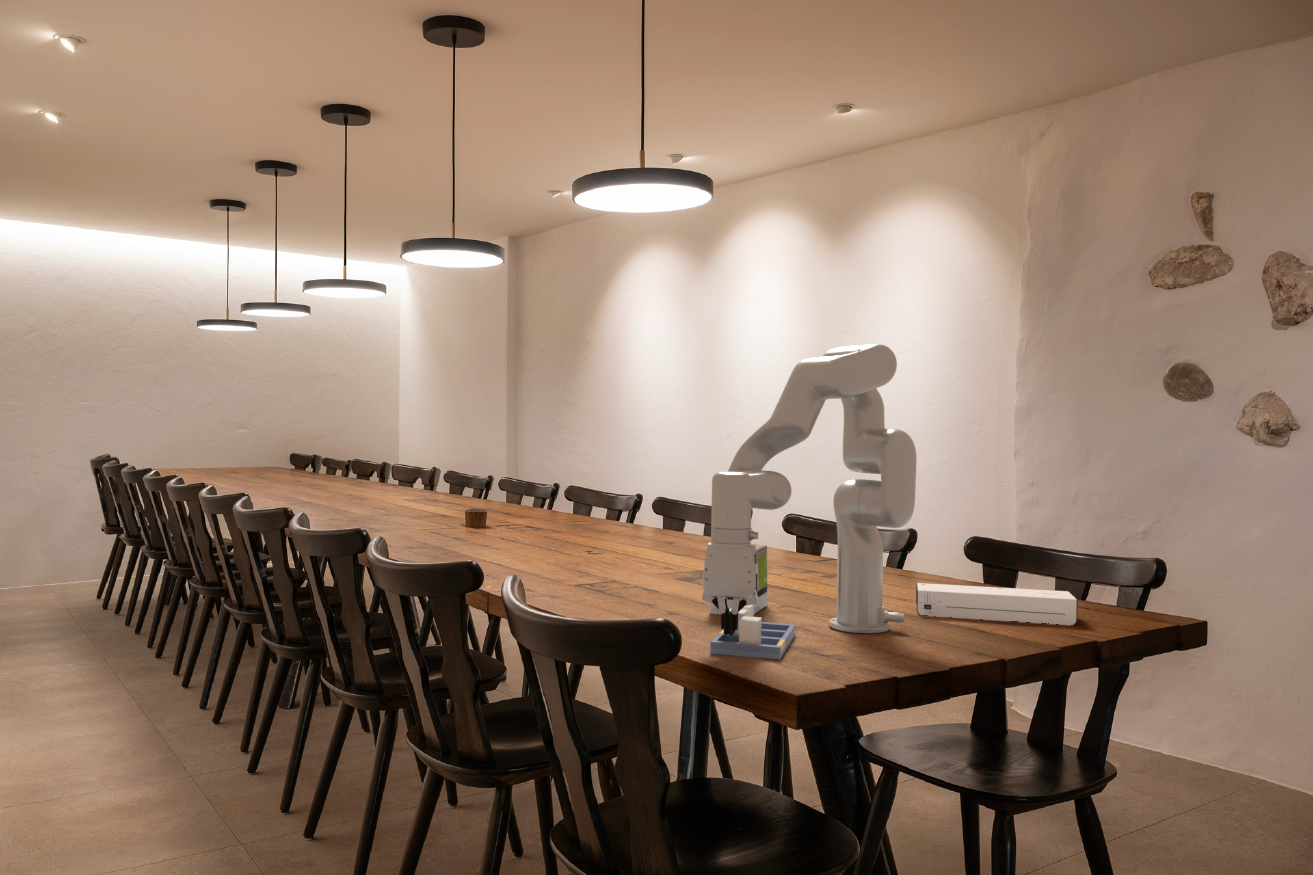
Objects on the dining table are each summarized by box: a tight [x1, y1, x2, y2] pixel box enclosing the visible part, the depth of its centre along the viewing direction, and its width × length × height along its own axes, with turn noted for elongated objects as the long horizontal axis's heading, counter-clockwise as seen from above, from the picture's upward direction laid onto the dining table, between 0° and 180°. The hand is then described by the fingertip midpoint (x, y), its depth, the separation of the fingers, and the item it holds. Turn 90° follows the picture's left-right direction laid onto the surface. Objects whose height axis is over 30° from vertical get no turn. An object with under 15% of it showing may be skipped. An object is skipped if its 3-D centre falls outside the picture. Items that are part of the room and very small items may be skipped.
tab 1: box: [729, 609, 748, 634], centre depth 177 cm, size 4×4×5 cm
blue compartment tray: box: [709, 621, 796, 661], centre depth 176 cm, size 13×21×2 cm, turn 164°
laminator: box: [915, 582, 1079, 627], centre depth 208 cm, size 34×12×6 cm, turn 75°
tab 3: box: [739, 616, 763, 644], centre depth 170 cm, size 4×4×5 cm
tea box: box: [708, 544, 769, 616], centre depth 210 cm, size 15×10×15 cm, turn 157°
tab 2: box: [742, 605, 755, 617], centre depth 183 cm, size 4×4×5 cm
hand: (729, 633), depth 171 cm, fingers closed
